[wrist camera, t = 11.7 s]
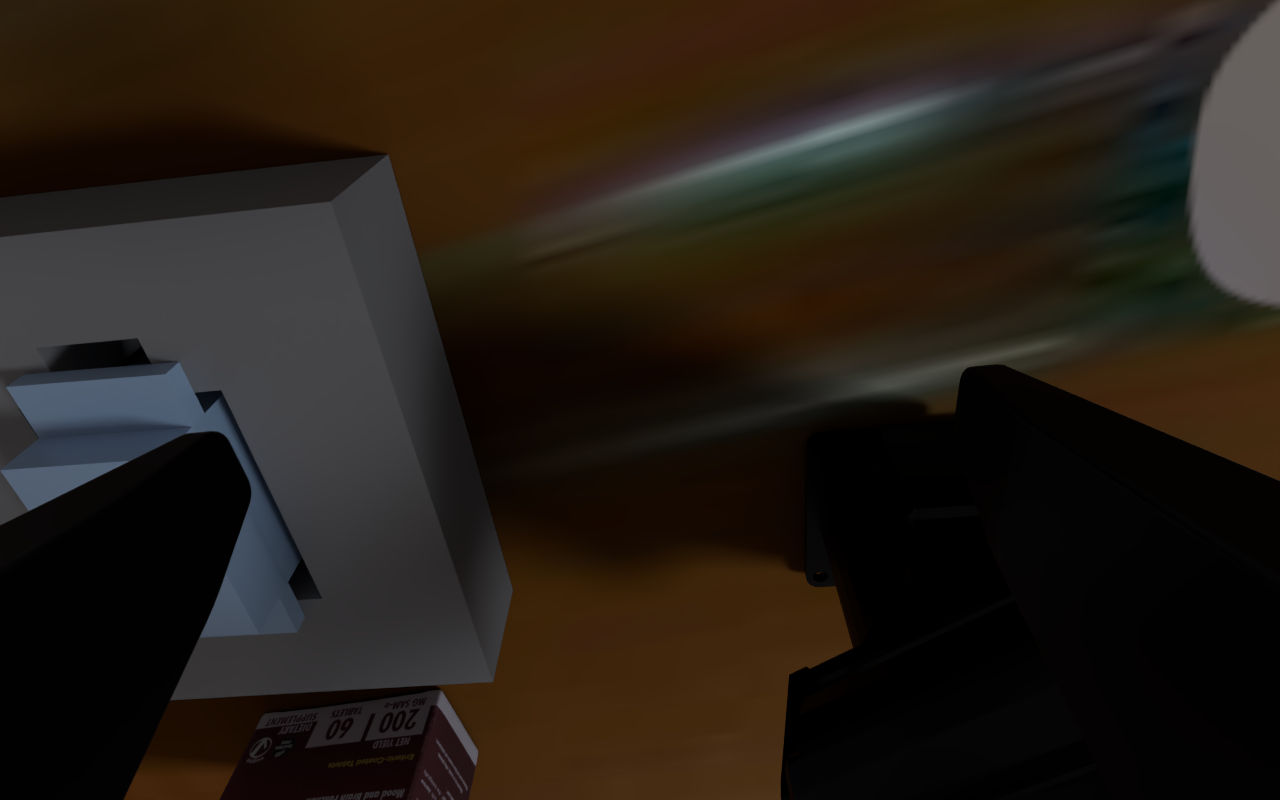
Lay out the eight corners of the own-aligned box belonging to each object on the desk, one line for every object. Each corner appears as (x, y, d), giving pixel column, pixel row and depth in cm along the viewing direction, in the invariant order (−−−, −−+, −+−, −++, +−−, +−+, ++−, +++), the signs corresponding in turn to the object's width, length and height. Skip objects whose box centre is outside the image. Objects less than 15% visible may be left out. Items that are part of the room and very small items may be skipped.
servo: (351, 526, 26) (278, 669, 21) (243, 533, 26) (145, 675, 21) (255, 289, 21) (129, 400, 16) (124, 300, 22) (-40, 413, 16)
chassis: (512, 589, 28) (492, 681, 24) (158, 613, 29) (91, 704, 25) (388, 154, 19) (330, 201, 16) (-110, 209, 20) (-265, 265, 17)
